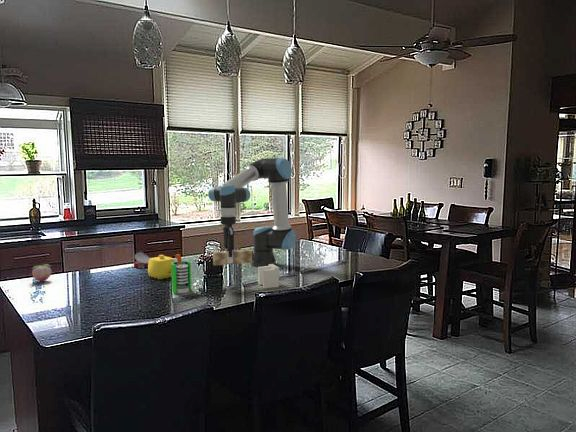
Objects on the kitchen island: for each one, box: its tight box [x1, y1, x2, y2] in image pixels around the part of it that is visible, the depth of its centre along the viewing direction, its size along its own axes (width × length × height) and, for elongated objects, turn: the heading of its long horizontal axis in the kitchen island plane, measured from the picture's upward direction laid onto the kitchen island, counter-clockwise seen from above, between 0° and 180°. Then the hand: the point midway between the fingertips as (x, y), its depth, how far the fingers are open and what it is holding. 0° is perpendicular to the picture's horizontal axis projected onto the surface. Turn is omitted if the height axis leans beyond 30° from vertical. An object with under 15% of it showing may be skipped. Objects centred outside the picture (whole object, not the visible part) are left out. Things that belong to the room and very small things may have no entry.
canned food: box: [133, 251, 151, 269], centre depth 288 cm, size 11×10×10 cm
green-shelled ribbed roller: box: [171, 253, 192, 294], centre depth 232 cm, size 9×8×18 cm
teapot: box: [147, 254, 176, 280], centre depth 263 cm, size 20×12×12 cm, turn 46°
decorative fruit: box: [31, 263, 52, 282], centre depth 253 cm, size 9×8×10 cm
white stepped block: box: [257, 264, 280, 289], centre depth 242 cm, size 9×8×10 cm
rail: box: [212, 249, 254, 266], centre depth 240 cm, size 20×4×6 cm, turn 111°
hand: (229, 262), depth 240 cm, fingers closed on rail, 4 cm apart
